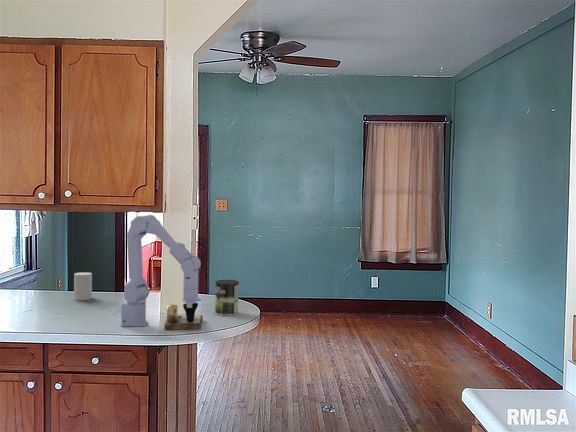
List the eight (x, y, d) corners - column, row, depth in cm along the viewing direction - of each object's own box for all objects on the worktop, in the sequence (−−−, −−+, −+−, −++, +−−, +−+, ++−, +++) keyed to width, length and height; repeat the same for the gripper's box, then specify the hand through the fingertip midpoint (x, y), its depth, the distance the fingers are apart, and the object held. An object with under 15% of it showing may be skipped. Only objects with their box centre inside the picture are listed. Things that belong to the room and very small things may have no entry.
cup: (70, 299, 293) (70, 274, 292) (81, 296, 301) (80, 271, 300) (85, 300, 290) (85, 275, 290) (95, 297, 298) (95, 273, 297)
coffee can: (224, 317, 263) (225, 284, 262) (210, 312, 270) (210, 281, 269) (243, 313, 270) (243, 281, 269) (228, 309, 277) (229, 278, 277)
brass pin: (166, 322, 242) (166, 306, 242) (167, 320, 246) (167, 304, 246) (176, 322, 242) (176, 306, 242) (177, 320, 246) (177, 304, 246)
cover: (181, 323, 241) (181, 318, 241) (183, 319, 248) (183, 314, 248) (199, 323, 242) (199, 318, 241) (200, 319, 249) (200, 314, 248)
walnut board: (164, 329, 239) (164, 324, 239) (168, 320, 255) (168, 315, 255) (200, 329, 240) (200, 324, 240) (202, 320, 256) (202, 315, 256)
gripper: (200, 291, 232) (199, 326, 233) (202, 284, 247) (201, 317, 248) (181, 291, 232) (180, 326, 233) (184, 284, 246) (183, 317, 247)
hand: (190, 322), depth 240 cm, fingers closed
